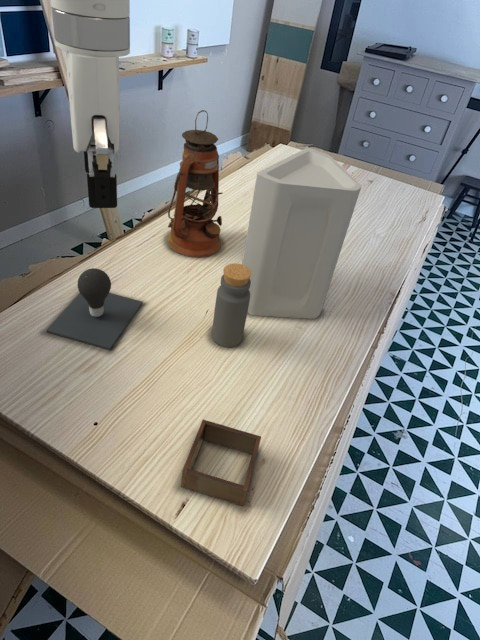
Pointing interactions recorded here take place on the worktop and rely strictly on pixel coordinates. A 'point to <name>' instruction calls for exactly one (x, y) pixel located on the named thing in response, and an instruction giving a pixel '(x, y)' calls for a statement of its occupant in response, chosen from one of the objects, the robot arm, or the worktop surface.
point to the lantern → (196, 220)
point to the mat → (95, 321)
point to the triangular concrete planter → (297, 233)
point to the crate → (213, 484)
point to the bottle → (231, 305)
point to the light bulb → (94, 289)
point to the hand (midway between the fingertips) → (100, 188)
